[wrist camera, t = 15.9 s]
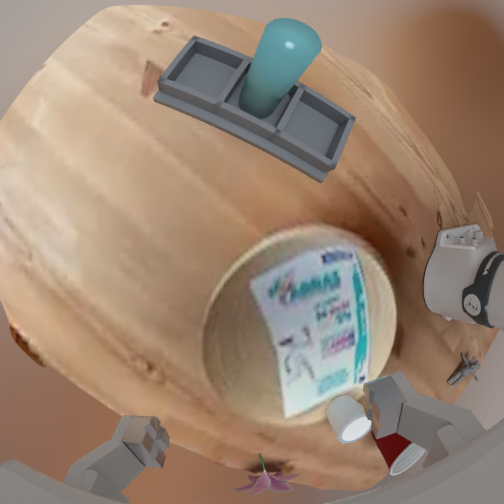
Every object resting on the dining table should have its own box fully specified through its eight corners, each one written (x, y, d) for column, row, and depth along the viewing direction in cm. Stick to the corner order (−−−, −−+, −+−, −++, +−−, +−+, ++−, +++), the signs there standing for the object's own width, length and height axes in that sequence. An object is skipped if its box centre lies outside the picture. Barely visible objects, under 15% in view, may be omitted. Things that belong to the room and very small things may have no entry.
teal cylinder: (268, 83, 31) (307, 17, 17) (281, 114, 32) (330, 57, 18) (233, 90, 31) (255, 20, 16) (245, 122, 32) (277, 62, 17)
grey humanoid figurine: (442, 372, 46) (471, 347, 43) (439, 367, 51) (466, 344, 48) (459, 401, 42) (487, 377, 39) (455, 394, 46) (482, 371, 44)
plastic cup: (398, 431, 46) (425, 459, 34) (359, 449, 44) (385, 483, 32) (406, 399, 44) (440, 427, 33) (365, 418, 43) (397, 453, 31)
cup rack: (346, 121, 35) (360, 113, 31) (320, 182, 35) (333, 178, 31) (195, 45, 30) (195, 29, 26) (154, 101, 30) (149, 88, 26)
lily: (217, 466, 39) (231, 507, 32) (244, 451, 34) (262, 500, 27) (267, 457, 45) (282, 493, 38) (299, 439, 40) (319, 480, 33)
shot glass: (333, 390, 40) (352, 413, 33) (362, 393, 41) (382, 413, 34) (315, 420, 40) (330, 444, 33) (344, 421, 41) (361, 443, 35)
